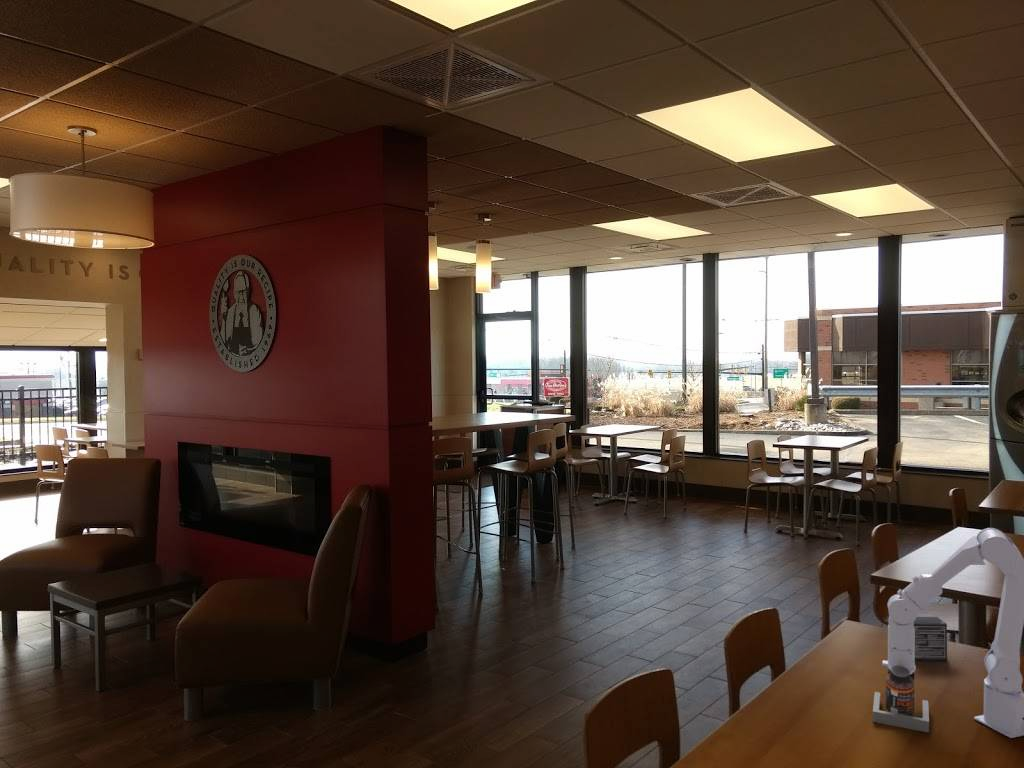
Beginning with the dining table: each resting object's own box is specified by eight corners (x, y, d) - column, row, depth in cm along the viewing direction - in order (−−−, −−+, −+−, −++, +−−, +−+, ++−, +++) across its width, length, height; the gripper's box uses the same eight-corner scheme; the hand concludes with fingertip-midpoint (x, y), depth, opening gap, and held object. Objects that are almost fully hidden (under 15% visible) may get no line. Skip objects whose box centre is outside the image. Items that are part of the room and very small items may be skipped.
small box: (937, 652, 215) (937, 615, 215) (948, 662, 209) (948, 624, 208) (898, 651, 216) (898, 615, 216) (907, 661, 210) (907, 623, 209)
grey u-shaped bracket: (874, 701, 186) (874, 691, 186) (928, 711, 181) (928, 700, 181) (872, 721, 176) (872, 711, 176) (928, 732, 171) (929, 721, 171)
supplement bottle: (898, 723, 176) (897, 682, 173) (880, 706, 182) (879, 666, 178) (920, 715, 177) (920, 674, 174) (901, 698, 183) (901, 659, 180)
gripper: (883, 633, 190) (883, 686, 191) (881, 654, 177) (881, 711, 178) (915, 638, 187) (915, 692, 188) (915, 659, 174) (915, 718, 175)
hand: (900, 702), depth 183 cm, fingers closed
